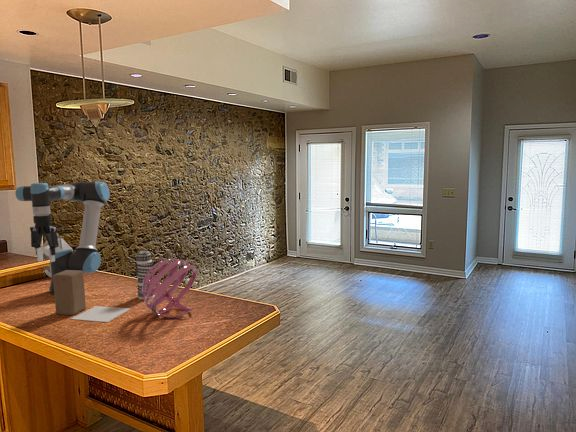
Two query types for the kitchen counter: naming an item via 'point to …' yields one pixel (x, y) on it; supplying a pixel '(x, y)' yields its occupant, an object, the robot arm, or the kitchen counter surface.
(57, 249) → the gable box
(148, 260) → the decorative candle
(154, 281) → the spiral basket
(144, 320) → the kitchen counter surface
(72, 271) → the wooden block
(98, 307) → the mat
